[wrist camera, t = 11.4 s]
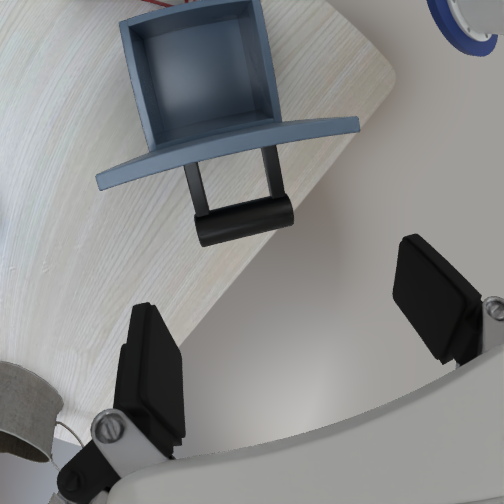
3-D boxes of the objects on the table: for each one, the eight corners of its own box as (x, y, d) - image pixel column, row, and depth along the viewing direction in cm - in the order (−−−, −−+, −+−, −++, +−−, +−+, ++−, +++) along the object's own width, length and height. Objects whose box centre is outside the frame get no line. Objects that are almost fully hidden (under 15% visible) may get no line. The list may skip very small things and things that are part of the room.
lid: (94, 175, 12) (130, 279, 14) (358, 116, 13) (370, 220, 15) (148, 152, 25) (163, 207, 27) (283, 121, 26) (293, 176, 28)
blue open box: (137, 37, 26) (118, 22, 18) (241, 14, 27) (258, -8, 19) (160, 137, 34) (150, 155, 26) (261, 114, 35) (283, 124, 26)
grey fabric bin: (-15, 347, 45) (-46, 435, 24) (100, 399, 59) (93, 493, 38) (-9, 389, 53) (-28, 460, 32) (84, 429, 67) (79, 502, 46)
